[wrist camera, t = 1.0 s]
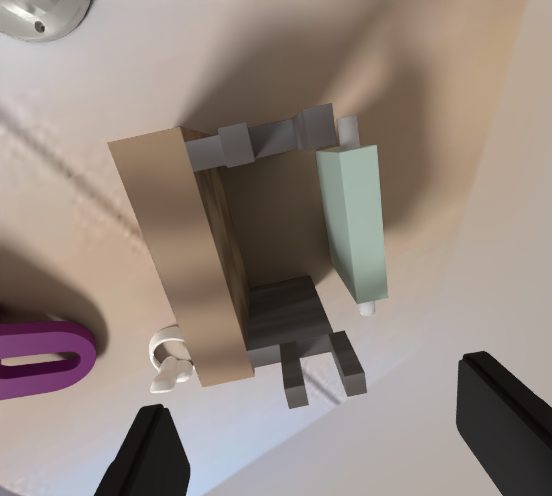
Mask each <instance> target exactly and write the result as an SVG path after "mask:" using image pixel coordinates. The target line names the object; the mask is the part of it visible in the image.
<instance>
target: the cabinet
mask: <svg viewBox="0 0 552 496" xmlns="http://www.w3.org/2000/svg"><path fill="white" fill-rule="evenodd" d="M217 129H218V133H219V135H216V136H211V137H209V134H205V133H201V132H197V131H194V130H190V129H186V128H182V127H177V128H172V129H167V130H163V131H158V132H154V133H149V134H145V135H140V136H136V137H131V138H127V139H122V140H118V141H113V142H109V143H107V144H108V146H109V149H110V151H111V154H112V156H113V159H114V162H115V164H116V167H117V169H118V172H119V174H120V177H121V180H122V182H123V185H124V187H125V190H126V192H127V195H128V198H129V200H130V203H131V205H132V208H133V210H134V213H135V216H136V218H137V221H138V223H139V226H140V228H141V231H142V233H143V236H144V239H145V241H146V244H147V246H148V249H149V251H150V254H151V257H152V259H153V262H154V264H155V267H156V269H157V272H158V275H159V277H160V280H161V282H162V285H163V287H164V290H165V293H166V295H167V298H168V300H169V303H170V305H171V308H172V311H173V313H174V316H175V318H176V321H177V323H178V326H179V328H180V331H181V334H182V336H183V339H184V341H185V344H186V346H187V349H188V352H189V354H190V357H191V359H192V362H193V364H194V367H195V370H196V372H197V375H198V377H199V380H200V382H201V385H202V387H207V386H211V385H216V384H221V383H226V382H231V381H235V380H240V379H245V378H250V377H254V368H256V367H260V366H265V365H270V364H275V363H279V362H281V364H282V373H283V382H284V390H285V394H286V398H287V402H288V406H289V409H292V408H297V407H301V406H306V405H309V404H308V399H307V394H306V389H305V384H304V379H303V374H302V369H301V364H300V359H299V358H303V357H308V356H313V355H317V354H322V353H327V352H331V353H332V355H333V358H334V361H335V364H336V366H337V369H338V372H339V375H340V377H341V380H342V383H343V386H344V389H345V391H346V394H347V397H349V396H354V395H359V394H364V393H367V389H366V381H365V373H364V370H363V368H362V366H361V364H360V362H359V360H358V358H357V356H356V354H355V352H354V349H353V347H352V345H351V343H350V341H349V339H348V337H347V335H346V333H345V331H340V332H335V333H333V330H332V328H331V325H330V323H329V320H328V318H327V316H326V313H325V311H324V308H323V306H322V303H321V301H320V298H319V296H318V294H317V291H316V289H315V286H314V284H313V281H312V279H311V277H310V276H306V277H301V278H296V279H292V280H287V281H282V282H278V283H273V284H268V285H264V286H259V287H254V288H250V286H249V283H248V279H247V275H246V271H245V268H244V264H243V260H242V256H241V253H240V249H239V245H238V241H237V238H236V234H235V230H234V227H233V223H232V219H231V215H230V212H229V208H228V204H227V200H226V197H225V193H224V189H223V186H222V182H221V178H220V174H219V171H218V167H219V166H223V165H227V168H229V167H234V166H238V165H243V164H247V163H252V162H255V158H260V157H264V156H269V155H274V154H278V153H283V152H287V151H292V150H296V149H300V150H312V149H316V148H321V147H325V146H330V145H334V144H337V141H336V133H335V125H334V117H333V108H332V103H330V104H325V105H321V106H316V107H312V108H307V109H303V110H302V111H301V112H299V113H298V114H297V115H296V116H295V117H293V118H292V119H289V120H284V121H280V122H275V123H270V124H266V125H261V126H257V127H252V128H248V126H247V123H246V122H244V123H239V124H235V125H230V126H226V127H221V128H217Z"/></svg>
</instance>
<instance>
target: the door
mask: <svg viewBox="0 0 552 496" xmlns="http://www.w3.org/2000/svg"><path fill="white" fill-rule="evenodd" d="M337 125H338V133H339V142H340V146H337V147H332V148H327V149H323V150H318V151H315V155H316V162H317V169H318V176H319V182H320V189H321V196H322V203H323V209H324V216H325V223H326V230H327V236H328V243H329V250H330V257H331V263H332V265H333V267H334V268H335V270H336V271H337V273H338V275H339V276H340V278H341V279H342V281H343V282H344V284H345V286H346V287H347V289H348V290H349V292H350V293H351V295H352V297H353V298H354V300H355V301H356V303H357V304H359V312H360V314H362V315H364V316H371V315H373V314H375V302H374V301H375V300H380V299H384V298H388V289H387V276H386V262H385V249H384V235H383V222H382V208H381V195H380V181H379V168H378V155H377V145H360V143H359V133H358V122H357V115H352V116H348V117H344V118H340V119H337Z"/></svg>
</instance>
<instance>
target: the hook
mask: <svg viewBox="0 0 552 496" xmlns="http://www.w3.org/2000/svg"><path fill="white" fill-rule="evenodd" d="M168 340H179V341H182V342H185V341H184V339H183V336H182V334H181V331H180V328H179V327H168V328H165V329H162V330H160V331H159V332H157V333H156V334H155V335H154V336H153V338H152V339H151V341H150V345H149V354H150V359H151V362H152V364H153V365H154V367H155V368H156V369H157V370H159V371H158V375H157V377H156V378H155V379H154V381H153V383H152V385H151V389H150V391H151V392H152V393H162V392H168V391H171V390H172V389H173V388H174V385H175V383H176V382H183V381H186V380H188V379H189V378H190V377H191V376H192V373H193V370H194V369H195V367H194V365H193V366H192V364H191V363H190V362H189V361H187V360H177V359H176V358H175V357H172V356H170V357H167V358H166V359H165V360H164V361H163V362H162V364H161V363H160V362H159V361H158V360H157V359H156V358H155V356H154V350H155V348H156V347H157V346H158V345H159V344H160V343H162V342H165V341H168Z"/></svg>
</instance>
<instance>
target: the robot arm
mask: <svg viewBox="0 0 552 496" xmlns="http://www.w3.org/2000/svg"><path fill="white" fill-rule="evenodd" d="M89 4H90V0H0V32H1V33H3V34H6V35H8V36H10V37H13V38H16V39H20V40H24V41H27V42H47V41H53V40H56V39H58V38H61V37H63V36H65V35H67V34H68V33H69V32H71V31H72V30H73V29H74V28H76V26H77V25H78V24H79V22H80V21H81V20H82V19H83V17H84V15H85V13H86V11H87V9H88V7H89ZM44 30H45V31H44ZM457 389H458V390H457V411H456V425H457V428H458V431H459V433H460V435H461V436H462V438H463V439H464V441H465V442H466V443H467V445H468V446H469V448H470V449H471V451H472V452H473V454H474V455H475V456H476V458H477V459H478V461H479V462H480V464H481V465H482V467H483V468H484V469H485V471H486V472H487V474H488V475H489V476H490V478H491V479H492V481H493V482H494V484H495V485H496V487H497V488H498V489H499V491H500V492H501V494H502V495H503V496H552V407H550V406H549V405H548V404H547V403H546V402H545V401H544V400H542V399H541V398H539V397H538V396H537V395H535V394H534V393H533V392H532V391H531V390H530V389H529V388H527V387H526V386H525V385H524V384H523V383H522V382H521V381H520V380H518V379H517V378H516V377H515V376H514V375H513V374H512V373H511V372H509V371H508V370H507V369H506V368H505V367H504V366H503V365H501V364H500V363H499V362H498V361H497V360H496V359H495V358H493V357H492V356H491V355H490V354H489V353H487V352H485V351H480V352H475V353H469V354H464V355H463V359H462V360H460V361H459V366H458V388H457ZM189 480H190V464H189V462H188V459H187V456H186V454H185V451H184V448H183V446H182V443H181V440H180V438H179V435H178V433H177V430H176V427H175V425H174V422H173V419H172V417H171V414H170V412H169V409H168V408H164V407H163V405H162V404H156V405H150V406H144V407H142V408H140V410H139V412H138V414H137V416H136V418H135V420H134V422H133V424H132V426H131V428H130V430H129V432H128V434H127V436H126V438H125V440H124V442H123V444H122V446H121V448H120V450H119V452H118V454H117V456H116V458H115V460H114V461H113V462H112V463H111V464H110V466H109V467H108V469H107V471H106V472H105V474H104V476H103V478H102V480H101V482H100V484H99V486H98V488H97V490H96V492H95V494H94V496H186V492H187V488H188V484H189Z"/></svg>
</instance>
